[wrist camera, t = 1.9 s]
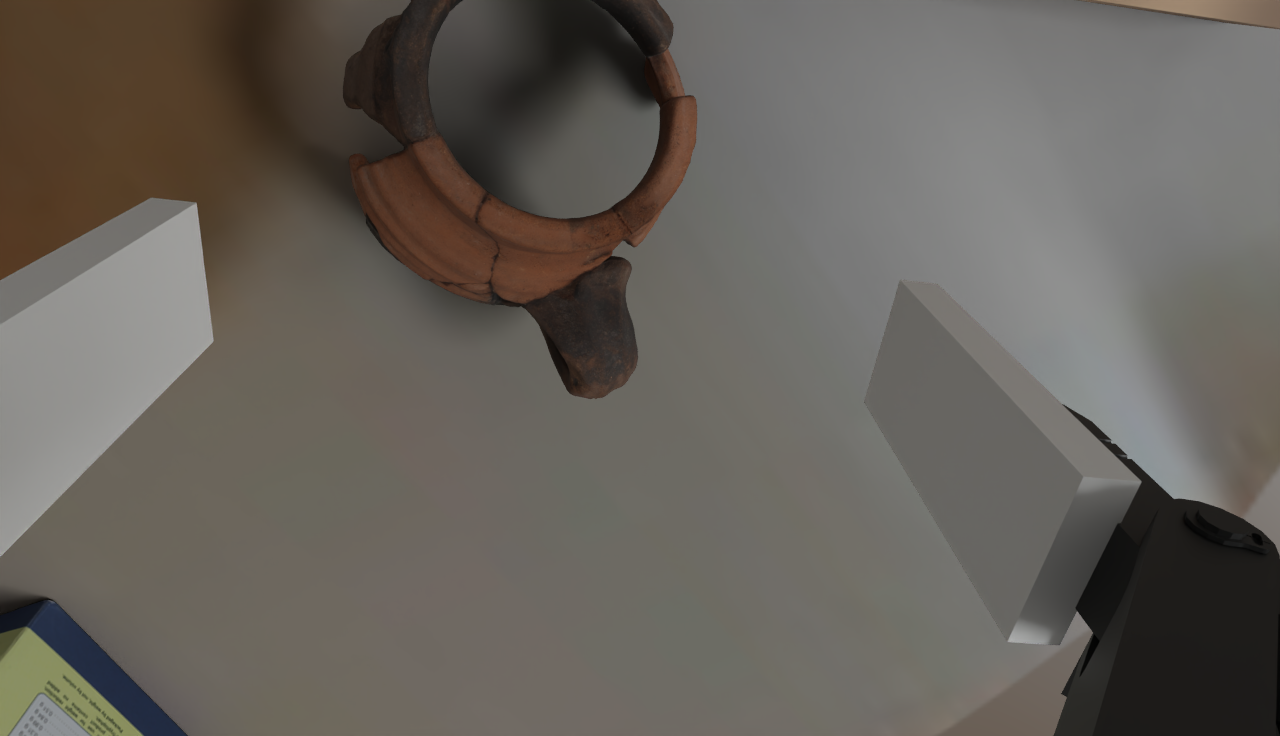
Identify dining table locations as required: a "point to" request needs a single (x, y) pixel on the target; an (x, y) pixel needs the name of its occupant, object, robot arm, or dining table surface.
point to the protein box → (67, 682)
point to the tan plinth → (1211, 10)
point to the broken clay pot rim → (498, 233)
